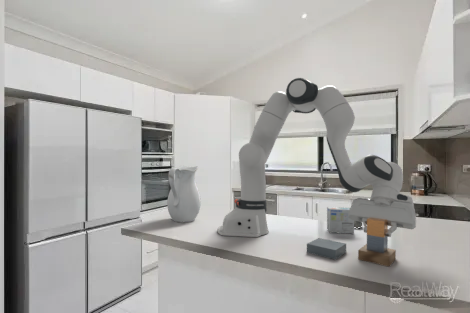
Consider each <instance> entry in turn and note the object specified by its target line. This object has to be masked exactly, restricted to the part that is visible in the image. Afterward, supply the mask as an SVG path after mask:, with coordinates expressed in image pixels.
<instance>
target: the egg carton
mask: <svg viewBox="0 0 470 313" xmlns="http://www.w3.org/2000/svg"><path fill="white" fill-rule="evenodd" d="M361 226H362V227H363V222H360V221H354V227H356V228H358V227H360V228H361ZM361 229H362V228H361Z"/></svg>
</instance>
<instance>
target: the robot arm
mask: <svg viewBox="0 0 470 313" xmlns="http://www.w3.org/2000/svg"><path fill="white" fill-rule="evenodd" d="M315 110H317V111H318V112H319V115H320V116H321V117H322V120H323V121H324V124H325V129H326V137H325V138H326V143H327V146H328V149H329V151H330V154H331V157H332V159H333V162H334V165H335V167H336V170H337V173H338V174H337V175H338V178H339V182H340V184H341V186H342V187H343V189H345V190H347V191H349V192H351V193H359V192H360V191H362V190H363V189H365V188H366V187H368V186H370V185H371V187H372V192H371V196H370V198H364V197H363V198H362V197H357V198H355V199H352V203H351V206H350V207H349V208H350V210H349V217H350V218H351V220H353V221H360V222H362V226H363V233H366V234H367V219H368V218H370V217H372V218H379V219H386V220H387V221H388V227H389V228H388V229H386V232H385V236H388V237H389V238H392V233H394V232H395V231H396V230H397V229H398V228H401V229H406V230H414V229H416V227H417V217H416V210H415V204H414V201H413V197H411V196H409V195H406V194H403V193H401V190H402V189H403V182H404V173H403V169H402V167H401V166H400V165H399V164H398V163H396V162H393V161H386V160H385V159H384V158H382V157H380V156H378V155H376V154H368V155H366V156H364V157H362V158H360V159H359V160H357V161H356V162H354V163H353V164H352V162H351V159H350V156H349V155H348V152H347V150H346V139H347V137H348V135H349V133H350V132H351V129H352V128H353V126H354V123H355V118H356V117H355V113H354V111H353V108H352V107H351V105H350V104H349V102H348V100H347V99H346V97H345V96H344V95H343V93H342V92H341V91H340V90H339V89H338V88H337V86H336V87H335V85H325V86H323V87H321V88H319V86H318V84H315V83H313V82H312V81H310V80H309V79H305V78H303V77H296V78H294V79H292V80H290V82H289V83H288V84H287V86H286V90H285V92H284V91H275V92H274V93H272V95H270V97H269V99H268V100H267V102H266V103H265V105H264V107H263V109H262V110H261V113H260V115H259V116H258V119H257V121H256V123H255V125H254V127H253V130H252V134H251V137H250V140H249V142H247V143H245V144H244V145H242V146H241V148H240V149H239V151H238V161H239V162H238V163H239V173H240V175H239V176H240V198H239V199H238V198H236V199H234V203H235V208H234V209H232V210H231V211H229V213H227V214H225V216H224V219H223V221H222V225H220V226H218V228H217V233H218V234H219V235H221V236H230V237H247V238H258V237H260V236H264V235H268V234H269V232H270V231H269V226H268V223H267V222H268V220H267V209H268V201H267V199H266V198H267V197H266V195H267V190H266V188H267V181H266V180H267V179H266V163H267V161H268V159H269V157H270V155H271V152H272V151H273V148H274V145H275V143H276V141H277V138H278V137H279V134H280V133H281V131H282V128H283V126H284V124H285V122H286V121H287V119H288V116H289V115H290V113H291V112H292V113H296V114H297V113H299V114H312V113H313V112H314V111H315Z"/></svg>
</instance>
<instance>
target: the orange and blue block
mask: <svg viewBox="0 0 470 313" xmlns="http://www.w3.org/2000/svg"><path fill="white" fill-rule="evenodd" d="M388 227H389V226H388V221H387V220H386V219H379V218H372V217H370V218H368V219H367V233H366V244H367V250H369V251H374V252H379V253H385V252H386V251H387V248H388V241H389V240H388V236H385V232H386V229H389V228H388Z"/></svg>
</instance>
